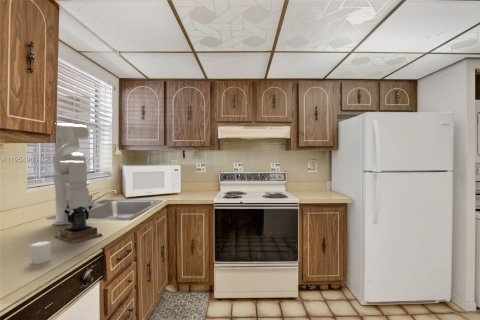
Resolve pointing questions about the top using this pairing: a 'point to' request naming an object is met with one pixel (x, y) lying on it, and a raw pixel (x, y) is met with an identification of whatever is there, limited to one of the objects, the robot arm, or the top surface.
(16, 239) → the top surface
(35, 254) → the shot glass
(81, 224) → the supplement bottle
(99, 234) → the bottle cradle
